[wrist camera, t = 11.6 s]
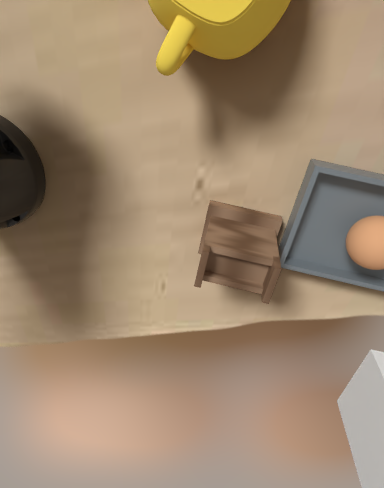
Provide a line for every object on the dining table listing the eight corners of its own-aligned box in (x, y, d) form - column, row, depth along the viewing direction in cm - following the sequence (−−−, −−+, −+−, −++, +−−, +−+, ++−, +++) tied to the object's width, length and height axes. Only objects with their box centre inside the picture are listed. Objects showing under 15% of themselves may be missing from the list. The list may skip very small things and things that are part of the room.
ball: (352, 201, 38) (368, 224, 33) (405, 213, 38) (429, 238, 33) (332, 246, 41) (344, 272, 36) (380, 257, 41) (399, 286, 36)
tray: (275, 255, 44) (277, 266, 41) (311, 158, 37) (315, 165, 35) (412, 287, 43) (422, 300, 41) (472, 194, 37) (488, 203, 34)
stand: (199, 247, 45) (187, 294, 36) (210, 200, 41) (199, 238, 32) (265, 263, 45) (269, 314, 35) (281, 216, 41) (290, 260, 32)
